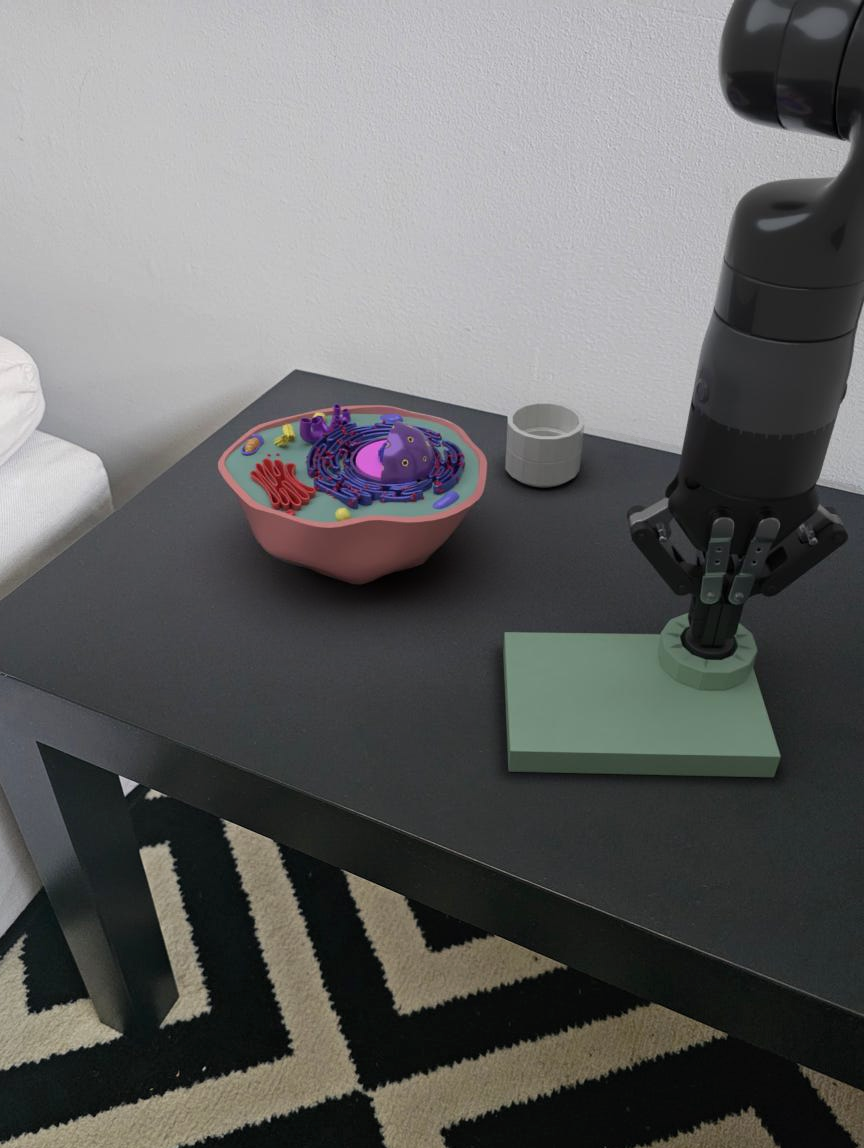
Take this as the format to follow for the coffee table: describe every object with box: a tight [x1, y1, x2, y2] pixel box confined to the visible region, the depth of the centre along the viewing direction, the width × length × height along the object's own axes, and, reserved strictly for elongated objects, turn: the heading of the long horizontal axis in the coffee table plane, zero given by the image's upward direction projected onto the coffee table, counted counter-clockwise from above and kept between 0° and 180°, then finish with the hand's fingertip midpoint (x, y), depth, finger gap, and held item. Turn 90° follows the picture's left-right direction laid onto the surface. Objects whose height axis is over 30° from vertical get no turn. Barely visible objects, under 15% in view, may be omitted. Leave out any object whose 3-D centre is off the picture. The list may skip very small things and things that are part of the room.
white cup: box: [504, 400, 586, 488], centre depth 88 cm, size 6×6×5 cm
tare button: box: [683, 628, 734, 660], centre depth 68 cm, size 3×3×2 cm
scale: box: [502, 612, 782, 778], centre depth 67 cm, size 16×12×4 cm
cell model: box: [217, 403, 488, 586], centre depth 78 cm, size 17×20×11 cm
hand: (708, 637), depth 67 cm, fingers closed
